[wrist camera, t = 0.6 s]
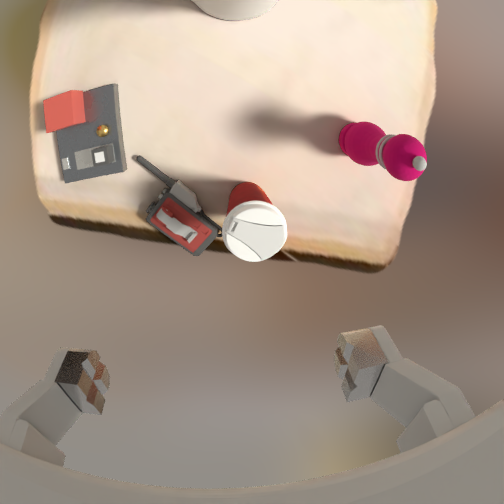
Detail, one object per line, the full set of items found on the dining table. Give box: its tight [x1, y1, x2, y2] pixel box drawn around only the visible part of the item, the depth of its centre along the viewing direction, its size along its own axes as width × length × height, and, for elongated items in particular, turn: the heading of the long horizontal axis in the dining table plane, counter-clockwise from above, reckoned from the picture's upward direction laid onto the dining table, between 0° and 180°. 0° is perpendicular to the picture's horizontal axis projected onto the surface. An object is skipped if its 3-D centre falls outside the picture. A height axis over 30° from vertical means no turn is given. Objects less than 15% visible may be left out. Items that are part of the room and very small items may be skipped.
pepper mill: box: [339, 122, 427, 181], centre depth 36 cm, size 7×7×20 cm
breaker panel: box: [56, 84, 127, 183], centre depth 38 cm, size 15×12×3 cm
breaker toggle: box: [91, 145, 114, 167], centre depth 39 cm, size 3×3×3 cm
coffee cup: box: [222, 182, 287, 262], centre depth 42 cm, size 8×8×15 cm
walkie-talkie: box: [137, 156, 222, 256], centre depth 46 cm, size 9×4×20 cm
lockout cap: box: [43, 90, 86, 133], centre depth 34 cm, size 6×6×4 cm
